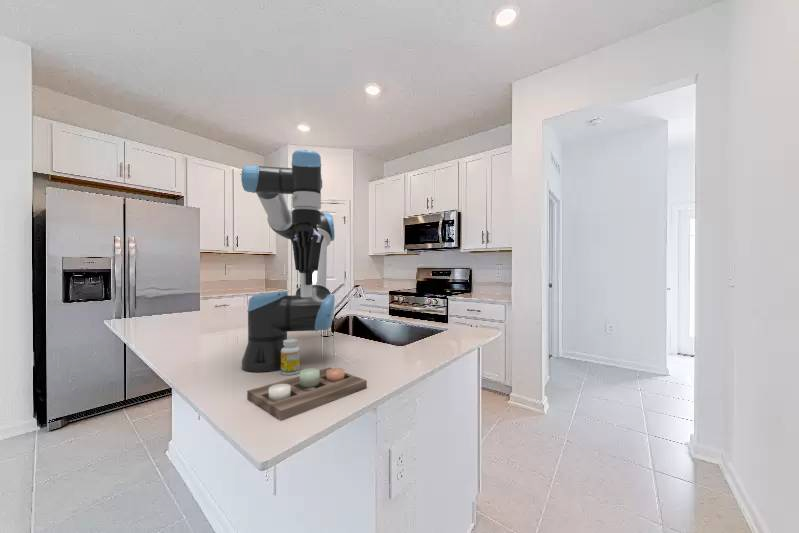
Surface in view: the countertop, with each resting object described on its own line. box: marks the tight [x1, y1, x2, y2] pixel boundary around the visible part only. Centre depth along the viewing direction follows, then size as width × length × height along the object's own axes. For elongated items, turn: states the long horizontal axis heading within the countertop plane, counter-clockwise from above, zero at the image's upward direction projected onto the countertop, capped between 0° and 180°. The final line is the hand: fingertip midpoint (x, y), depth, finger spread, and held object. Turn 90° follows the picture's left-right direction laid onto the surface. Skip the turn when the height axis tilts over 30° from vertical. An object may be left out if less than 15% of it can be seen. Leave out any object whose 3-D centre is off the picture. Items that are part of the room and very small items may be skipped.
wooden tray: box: [246, 367, 368, 421], centre depth 81 cm, size 16×24×2 cm, turn 138°
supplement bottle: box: [280, 338, 301, 376], centre depth 97 cm, size 5×5×10 cm
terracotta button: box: [326, 367, 346, 383], centre depth 87 cm, size 5×5×3 cm
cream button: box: [269, 384, 291, 402], centre depth 75 cm, size 5×5×3 cm
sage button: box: [299, 367, 321, 388], centre depth 81 cm, size 5×5×3 cm
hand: (306, 296), depth 88 cm, fingers closed
